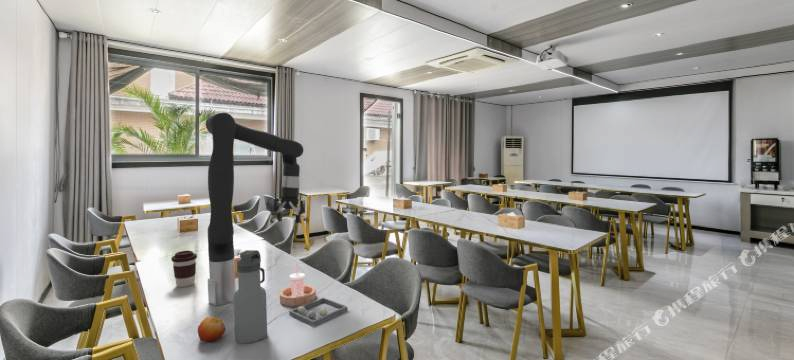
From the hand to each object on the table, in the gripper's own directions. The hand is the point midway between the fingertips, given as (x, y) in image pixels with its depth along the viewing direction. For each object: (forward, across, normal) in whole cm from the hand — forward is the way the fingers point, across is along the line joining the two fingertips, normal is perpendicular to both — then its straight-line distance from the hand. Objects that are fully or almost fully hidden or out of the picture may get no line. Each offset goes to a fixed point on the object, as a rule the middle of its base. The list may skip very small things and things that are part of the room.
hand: (288, 222), depth 164 cm
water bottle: (+31, +13, -44) cm, 55 cm away
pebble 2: (+29, +27, -29) cm, 49 cm away
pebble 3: (+29, +30, -26) cm, 49 cm away
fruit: (+32, +2, -48) cm, 58 cm away
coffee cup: (+32, -45, -8) cm, 56 cm away
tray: (+29, +27, -23) cm, 46 cm away
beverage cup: (+28, +13, -12) cm, 33 cm away
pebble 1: (+29, +21, -26) cm, 45 cm away
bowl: (+29, +13, -13) cm, 34 cm away
